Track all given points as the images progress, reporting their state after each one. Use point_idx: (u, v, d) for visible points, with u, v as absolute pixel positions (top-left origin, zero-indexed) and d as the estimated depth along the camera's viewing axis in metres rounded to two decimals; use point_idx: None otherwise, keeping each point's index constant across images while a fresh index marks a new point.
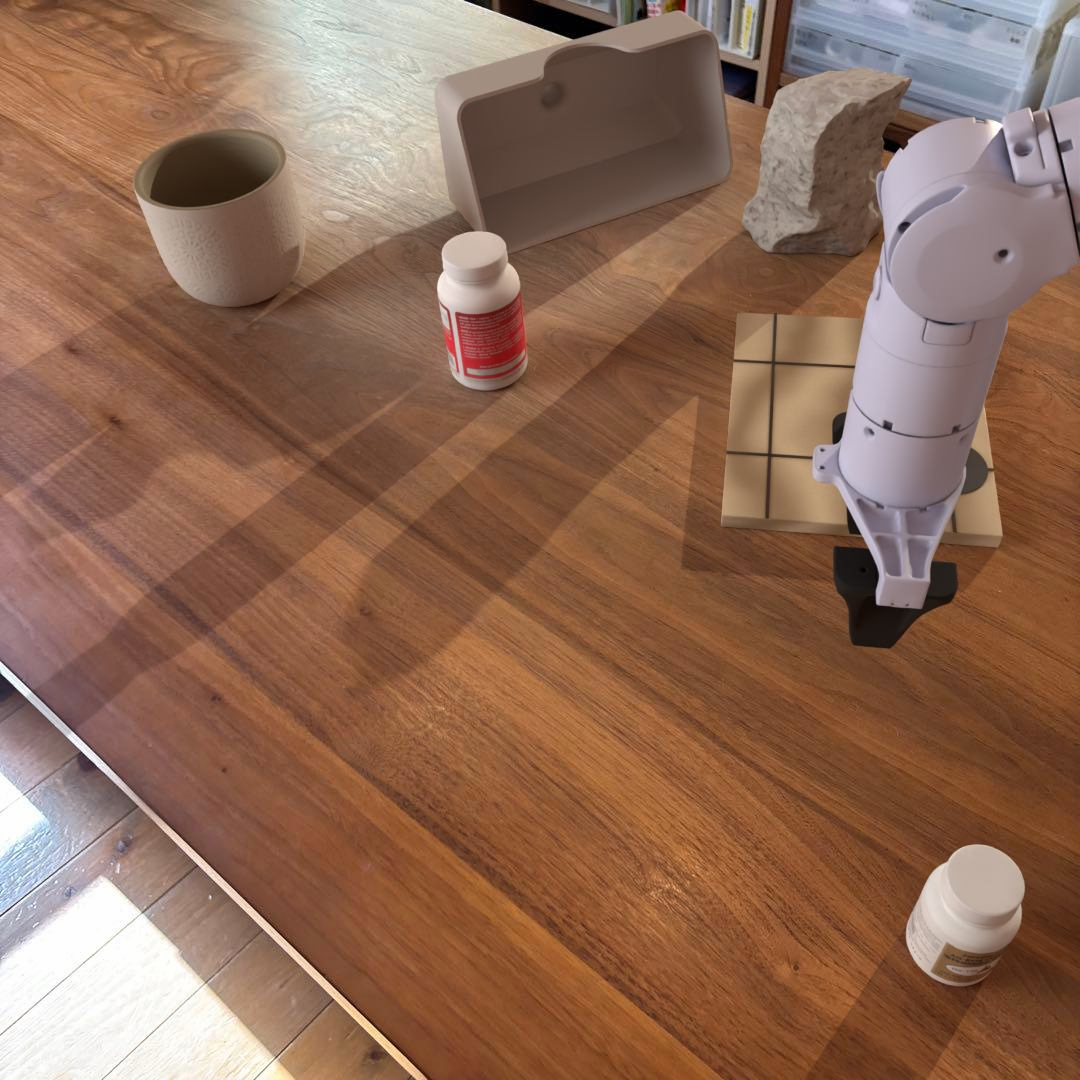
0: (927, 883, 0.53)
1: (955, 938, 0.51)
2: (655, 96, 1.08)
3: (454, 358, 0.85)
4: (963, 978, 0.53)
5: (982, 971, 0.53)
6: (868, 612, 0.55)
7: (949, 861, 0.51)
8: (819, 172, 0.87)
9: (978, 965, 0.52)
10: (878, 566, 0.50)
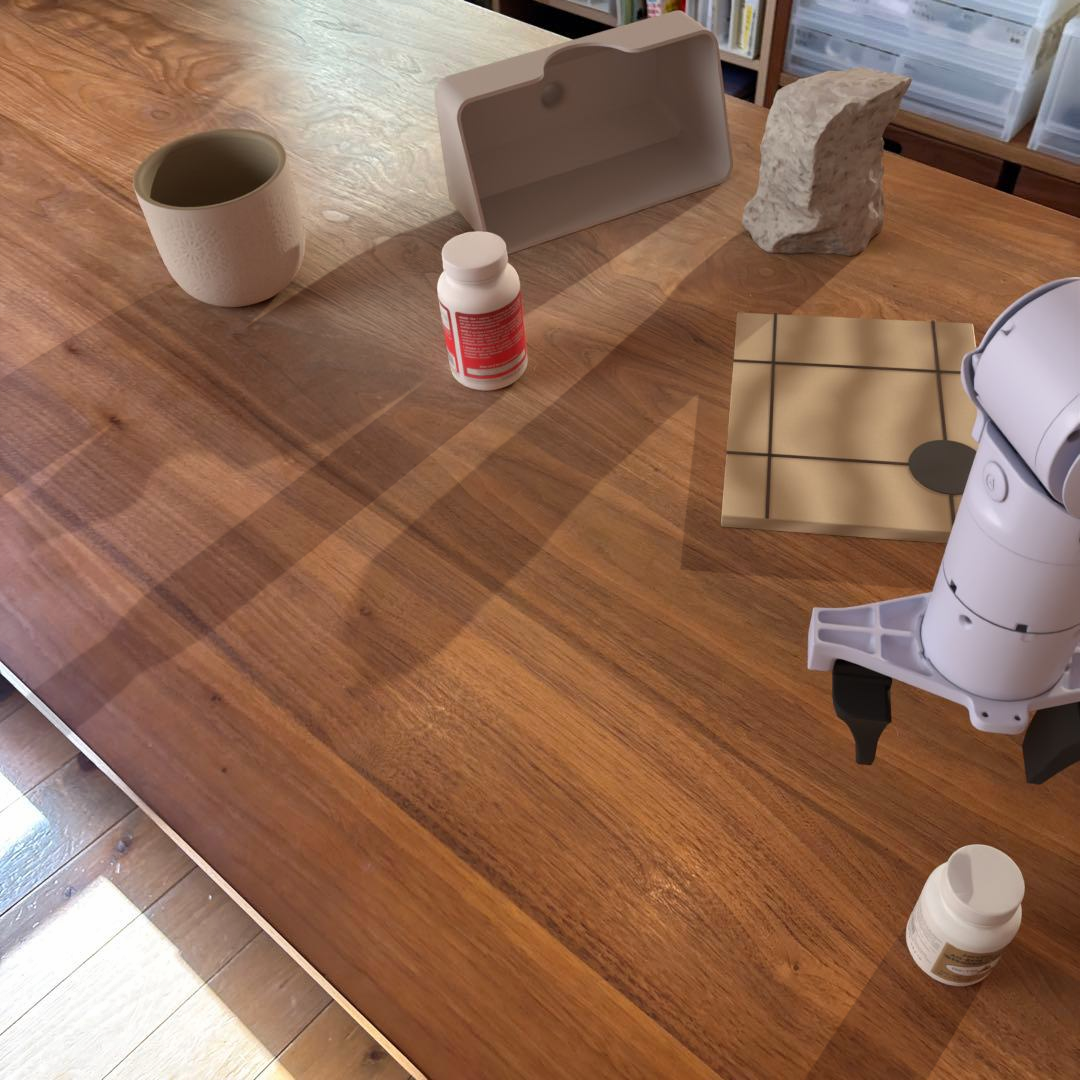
0: (927, 883, 0.53)
1: (955, 938, 0.51)
2: (655, 96, 1.08)
3: (454, 358, 0.85)
4: (963, 978, 0.53)
5: (982, 971, 0.53)
6: None
7: (949, 861, 0.51)
8: (819, 172, 0.87)
9: (978, 965, 0.52)
10: None
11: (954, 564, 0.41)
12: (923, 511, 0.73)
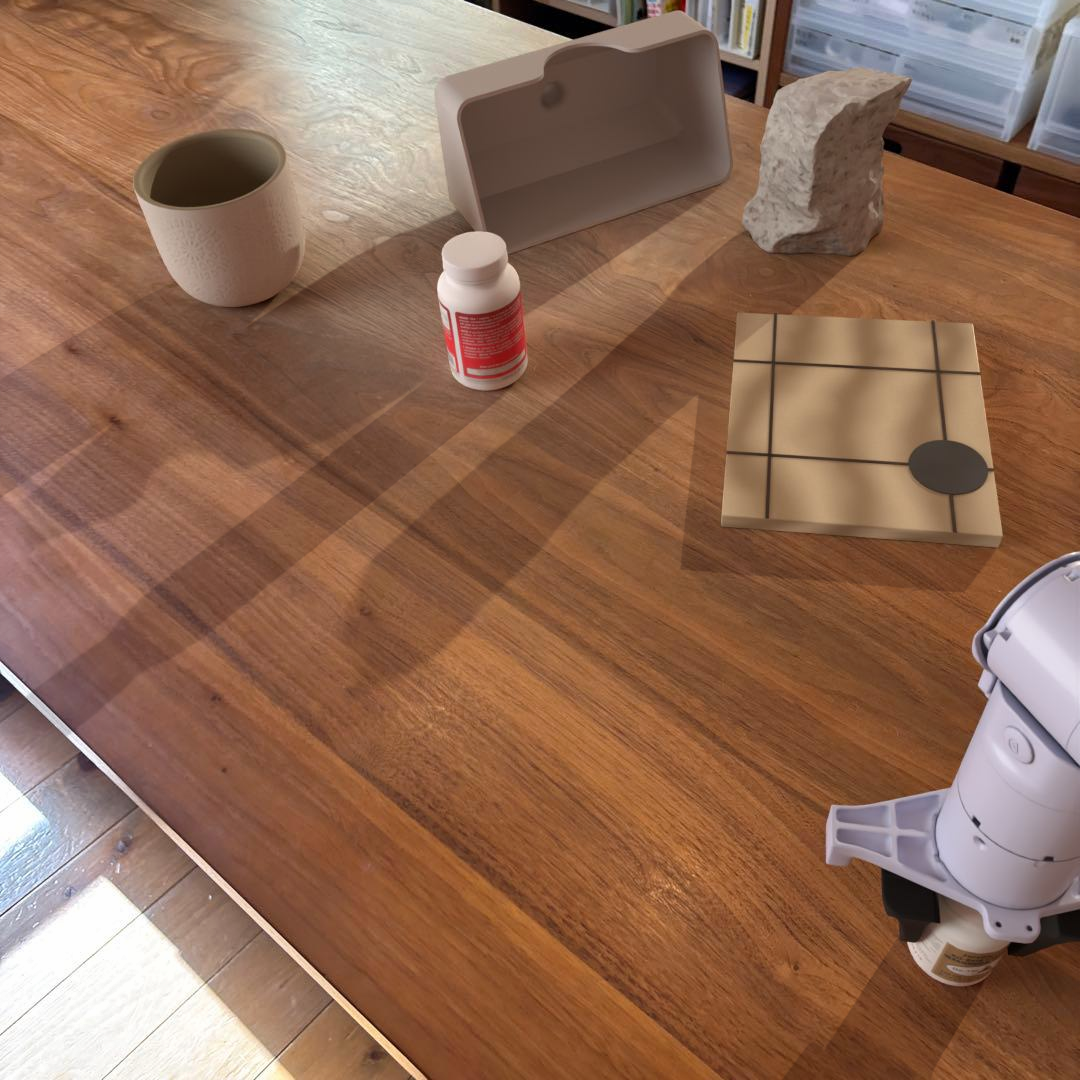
0: None
1: (955, 938, 0.51)
2: (655, 96, 1.08)
3: (454, 358, 0.85)
4: (963, 978, 0.53)
5: (983, 971, 0.53)
6: None
7: None
8: (819, 172, 0.87)
9: (978, 965, 0.52)
10: None
11: (975, 803, 0.43)
12: (923, 511, 0.73)
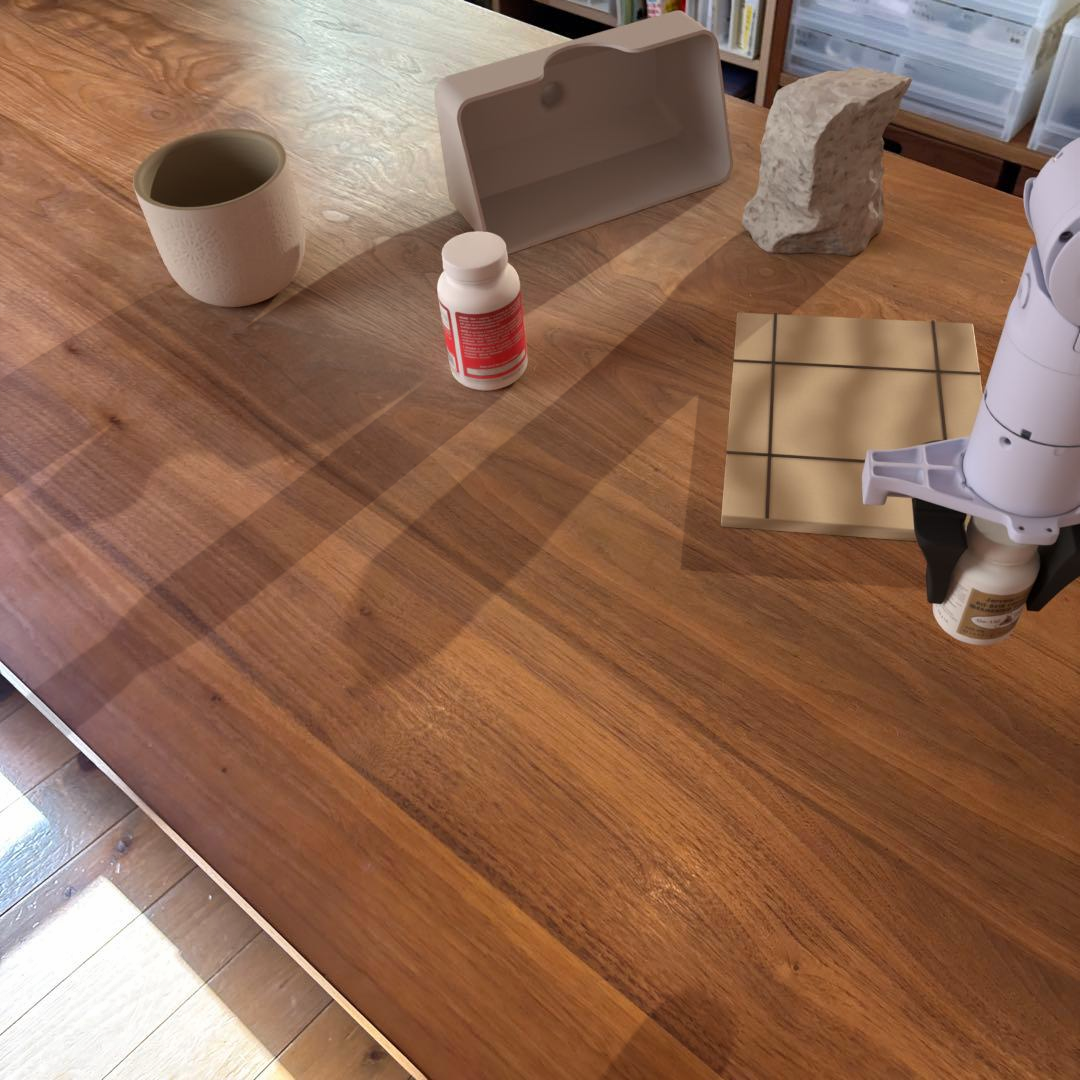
0: None
1: (980, 580, 0.56)
2: (655, 96, 1.08)
3: (454, 358, 0.85)
4: (987, 633, 0.58)
5: (1004, 623, 0.58)
6: None
7: None
8: (819, 172, 0.87)
9: (1001, 612, 0.57)
10: None
11: (990, 373, 0.49)
12: None
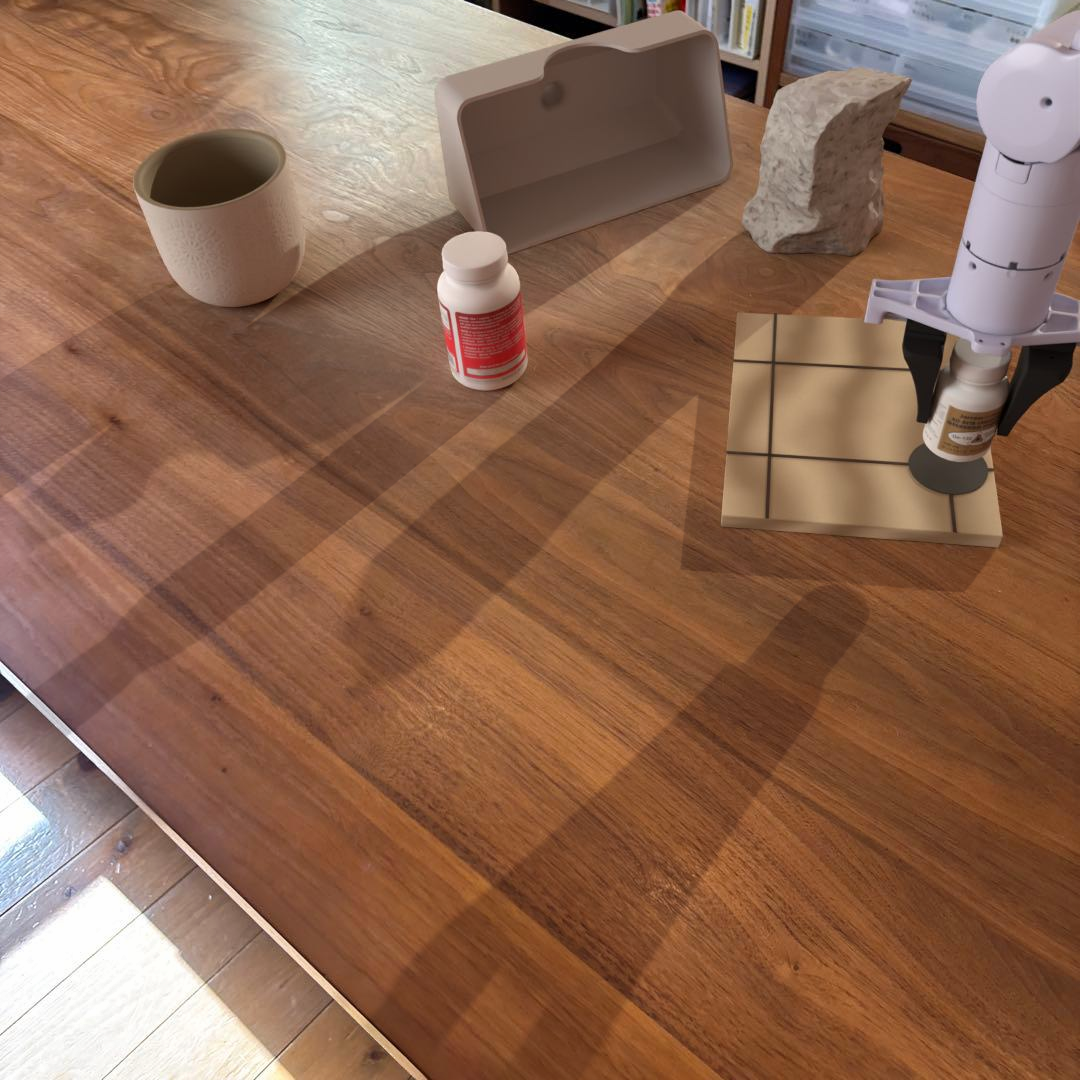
0: (941, 370, 0.71)
1: (955, 397, 0.69)
2: (655, 96, 1.08)
3: (454, 358, 0.85)
4: (961, 449, 0.72)
5: (975, 442, 0.71)
6: None
7: (958, 340, 0.69)
8: (819, 172, 0.87)
9: (972, 429, 0.70)
10: None
11: None
12: (923, 511, 0.73)
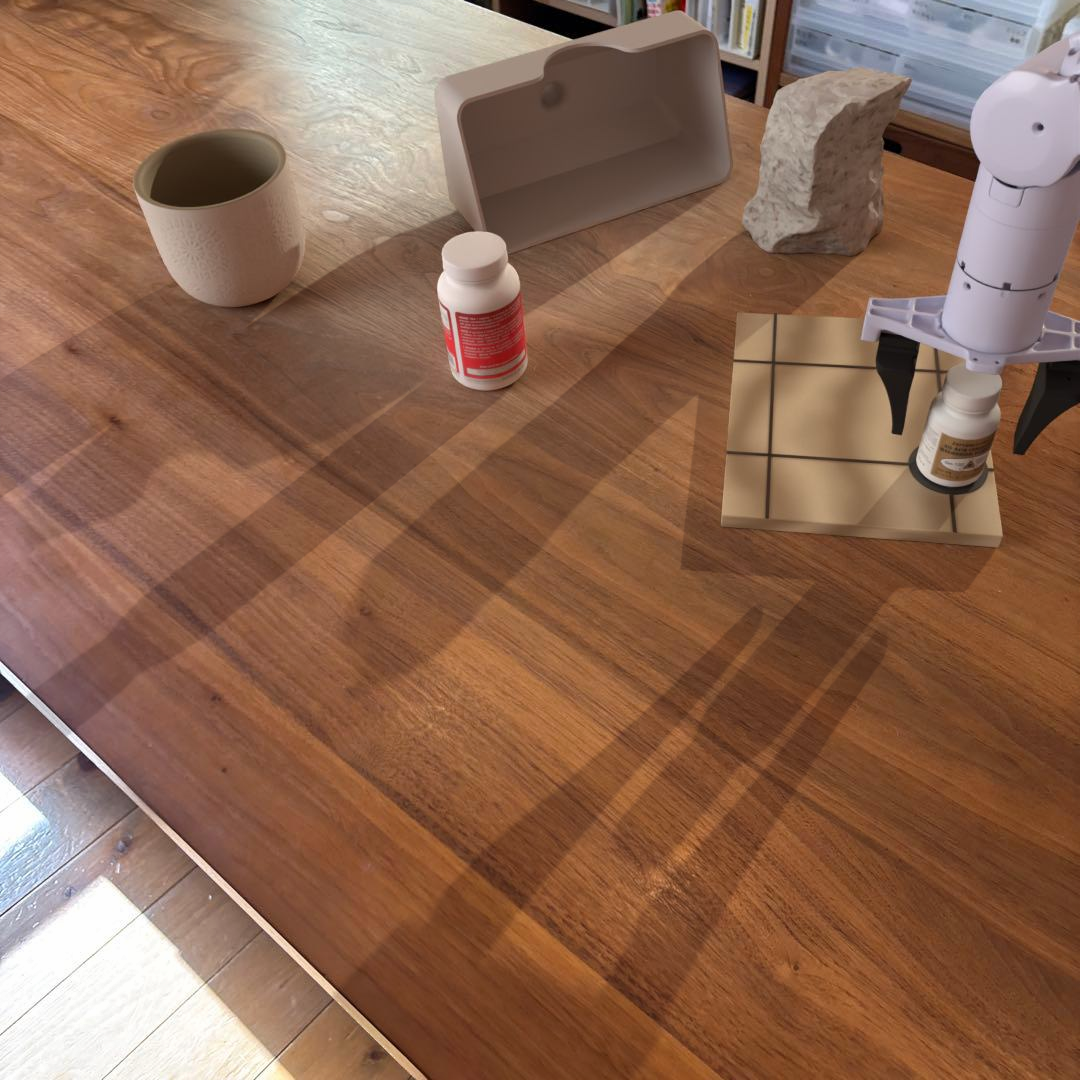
0: (934, 398, 0.73)
1: (947, 425, 0.71)
2: (655, 96, 1.08)
3: (454, 358, 0.85)
4: (953, 475, 0.73)
5: (967, 468, 0.73)
6: None
7: (950, 369, 0.71)
8: (819, 172, 0.87)
9: (963, 456, 0.72)
10: None
11: None
12: (923, 511, 0.73)
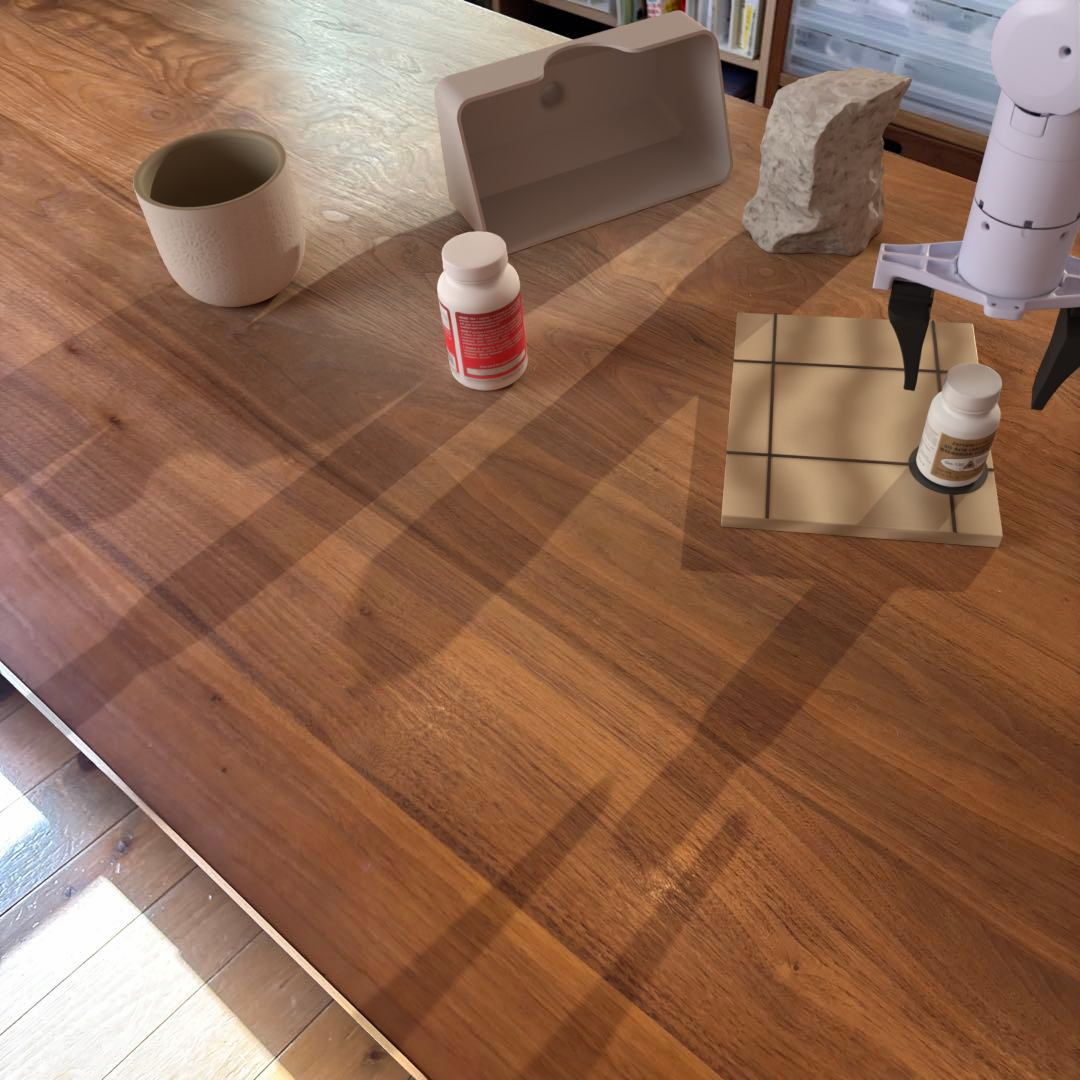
0: (934, 398, 0.73)
1: (947, 425, 0.71)
2: (655, 96, 1.08)
3: (454, 358, 0.85)
4: (953, 475, 0.73)
5: (967, 468, 0.73)
6: None
7: (950, 369, 0.71)
8: (819, 172, 0.87)
9: (963, 456, 0.72)
10: None
11: None
12: (923, 511, 0.73)
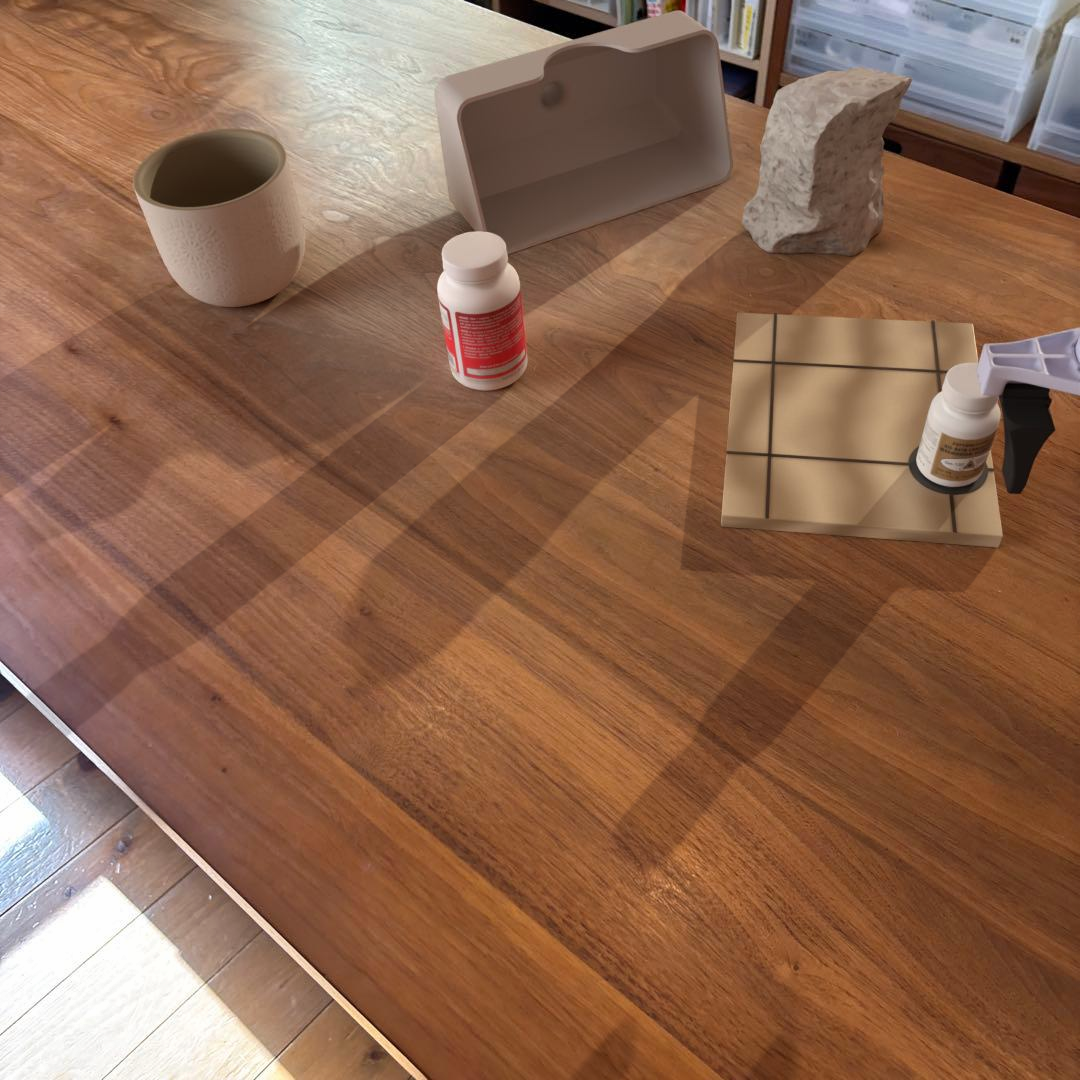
0: (934, 398, 0.73)
1: (947, 425, 0.71)
2: (655, 96, 1.08)
3: (454, 358, 0.85)
4: (953, 475, 0.73)
5: (967, 468, 0.73)
6: None
7: (950, 369, 0.71)
8: (819, 172, 0.87)
9: (963, 456, 0.72)
10: None
11: None
12: (923, 511, 0.73)
